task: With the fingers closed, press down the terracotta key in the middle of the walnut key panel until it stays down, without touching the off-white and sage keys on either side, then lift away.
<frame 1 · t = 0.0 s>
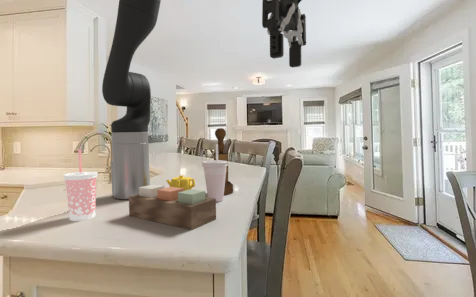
hand: (286, 62, 52), 29 cm above the counter, tool pointing down, fingers open, 8 cm apart
sage key: (191, 199, 54), point 4 cm above the counter, slide at 0.0 cm
key panel: (171, 217, 57), on the counter
teapot: (180, 195, 79), on the counter
terracotta key: (170, 196, 57), point 4 cm above the counter, slide at 0.0 cm
smoothie: (215, 200, 71), on the counter
offwhite key: (152, 193, 60), point 4 cm above the counter, slide at 0.0 cm
mortar and pestle: (221, 193, 80), on the counter
beverage cup: (82, 218, 58), on the counter
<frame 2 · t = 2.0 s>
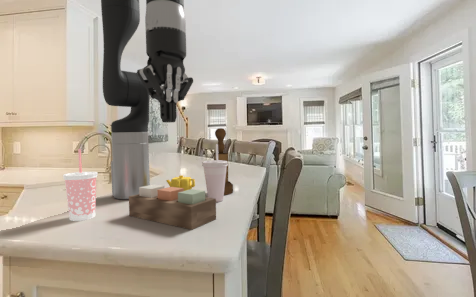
hand: (168, 122, 56), 19 cm above the counter, tool pointing down, fingers closed
nothing on the counter moved.
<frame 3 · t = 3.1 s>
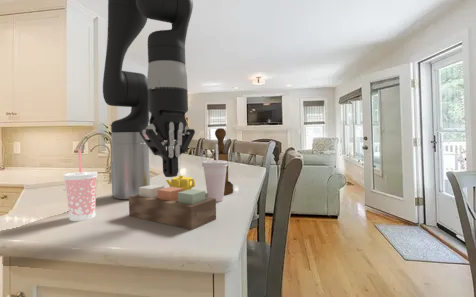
hand: (170, 176, 56), 8 cm above the counter, tool pointing down, fingers closed
nothing on the counter moved.
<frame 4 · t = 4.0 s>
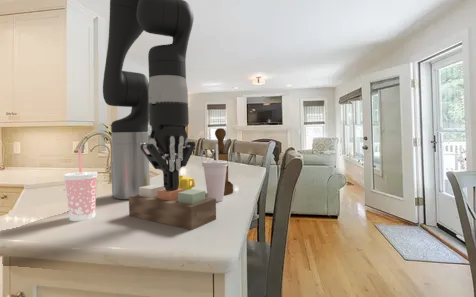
hand: (171, 189, 57), 6 cm above the counter, tool pointing down, fingers closed
terracotta key: (170, 197, 57), point 4 cm above the counter, slide at 0.2 cm, touching gripper
everything else where it was.
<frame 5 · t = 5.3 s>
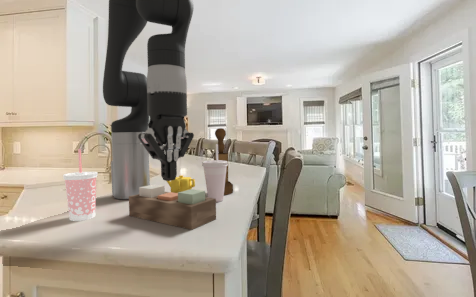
hand: (169, 180, 57), 8 cm above the counter, tool pointing down, fingers closed
terracotta key: (171, 202, 57), point 3 cm above the counter, slide at 1.1 cm
everything else where it was.
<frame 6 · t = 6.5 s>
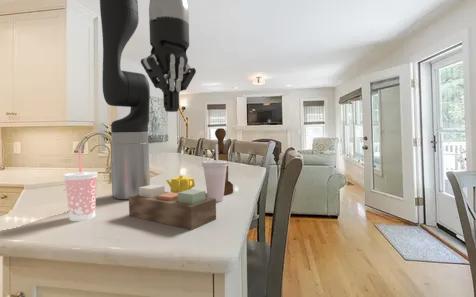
hand: (171, 111, 57), 21 cm above the counter, tool pointing down, fingers closed
nothing on the counter moved.
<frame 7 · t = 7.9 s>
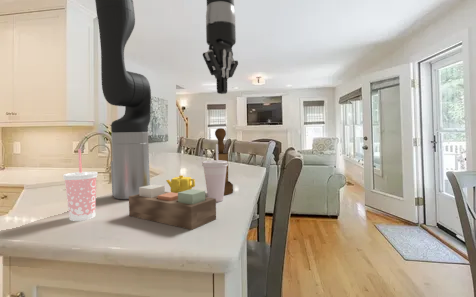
hand: (222, 93, 74), 27 cm above the counter, tool pointing down, fingers closed
nothing on the counter moved.
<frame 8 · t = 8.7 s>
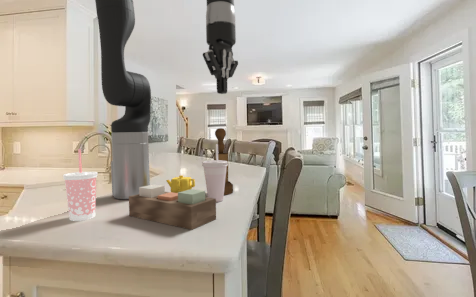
hand: (222, 93, 74), 27 cm above the counter, tool pointing down, fingers closed
nothing on the counter moved.
at the end: terracotta key slide at 1.1 cm; offwhite key slide at 0.0 cm; sage key slide at 0.0 cm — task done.
